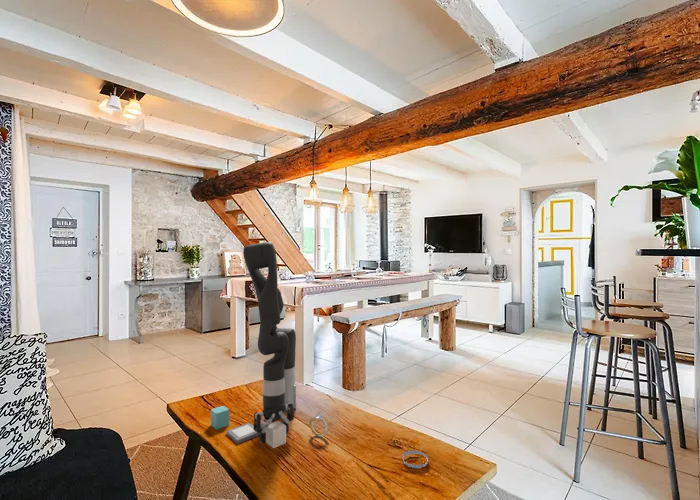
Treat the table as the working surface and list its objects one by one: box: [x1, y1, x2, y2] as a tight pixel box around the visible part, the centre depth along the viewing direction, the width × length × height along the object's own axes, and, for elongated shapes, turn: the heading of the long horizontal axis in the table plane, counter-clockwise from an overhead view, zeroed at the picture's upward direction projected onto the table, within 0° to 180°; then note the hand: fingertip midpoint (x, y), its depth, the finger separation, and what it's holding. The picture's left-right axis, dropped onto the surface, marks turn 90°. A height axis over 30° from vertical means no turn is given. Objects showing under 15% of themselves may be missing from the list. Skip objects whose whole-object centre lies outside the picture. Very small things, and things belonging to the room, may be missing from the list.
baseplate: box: [225, 422, 259, 445], centre depth 130 cm, size 9×9×1 cm
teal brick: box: [210, 405, 230, 430], centre depth 137 cm, size 5×5×6 cm
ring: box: [309, 412, 329, 438], centre depth 128 cm, size 7×3×8 cm, turn 61°
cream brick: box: [265, 420, 287, 449], centre depth 124 cm, size 5×5×6 cm
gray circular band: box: [402, 450, 429, 469], centre depth 111 cm, size 8×8×2 cm
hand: (274, 438), depth 124 cm, fingers open, 8 cm apart
